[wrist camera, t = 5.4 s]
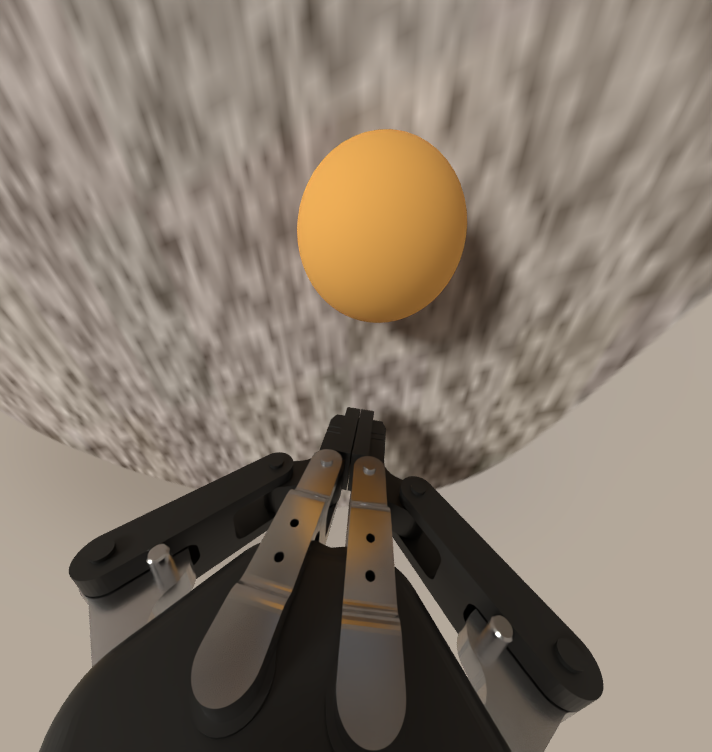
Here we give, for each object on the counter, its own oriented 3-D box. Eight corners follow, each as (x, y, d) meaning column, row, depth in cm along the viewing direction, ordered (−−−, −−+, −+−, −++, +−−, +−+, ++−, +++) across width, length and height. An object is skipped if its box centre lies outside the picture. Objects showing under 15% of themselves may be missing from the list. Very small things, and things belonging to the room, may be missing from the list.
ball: (319, 300, 14) (271, 329, 8) (324, 159, 11) (258, 70, 6) (431, 314, 13) (457, 355, 8) (464, 170, 11) (536, 86, 5)
